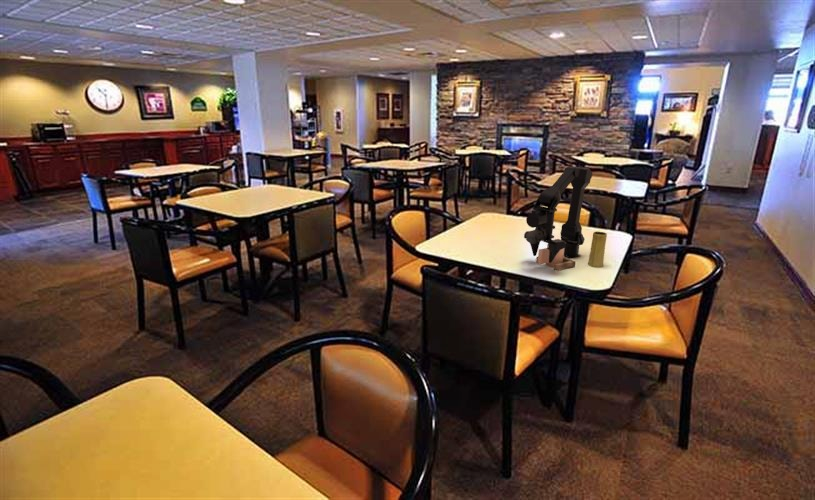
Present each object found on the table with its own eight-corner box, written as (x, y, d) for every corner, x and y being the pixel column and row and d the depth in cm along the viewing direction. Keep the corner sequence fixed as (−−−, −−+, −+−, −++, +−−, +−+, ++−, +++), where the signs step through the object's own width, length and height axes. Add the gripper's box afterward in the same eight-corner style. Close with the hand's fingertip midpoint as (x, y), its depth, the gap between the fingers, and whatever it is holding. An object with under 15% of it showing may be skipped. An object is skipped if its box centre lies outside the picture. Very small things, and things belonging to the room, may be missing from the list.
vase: (604, 267, 183) (609, 235, 178) (589, 266, 184) (593, 234, 180) (601, 263, 189) (606, 231, 184) (586, 262, 190) (590, 230, 185)
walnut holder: (554, 258, 194) (554, 253, 193) (574, 267, 184) (575, 261, 183) (536, 262, 190) (536, 256, 189) (556, 271, 179) (556, 265, 179)
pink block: (553, 261, 191) (556, 241, 188) (565, 266, 185) (568, 246, 182) (532, 265, 186) (534, 245, 183) (544, 270, 180) (546, 250, 177)
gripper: (515, 220, 182) (512, 255, 187) (547, 231, 166) (543, 269, 171) (535, 217, 186) (532, 251, 191) (569, 227, 171) (564, 264, 176)
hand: (542, 259), depth 182 cm, fingers open, 9 cm apart
